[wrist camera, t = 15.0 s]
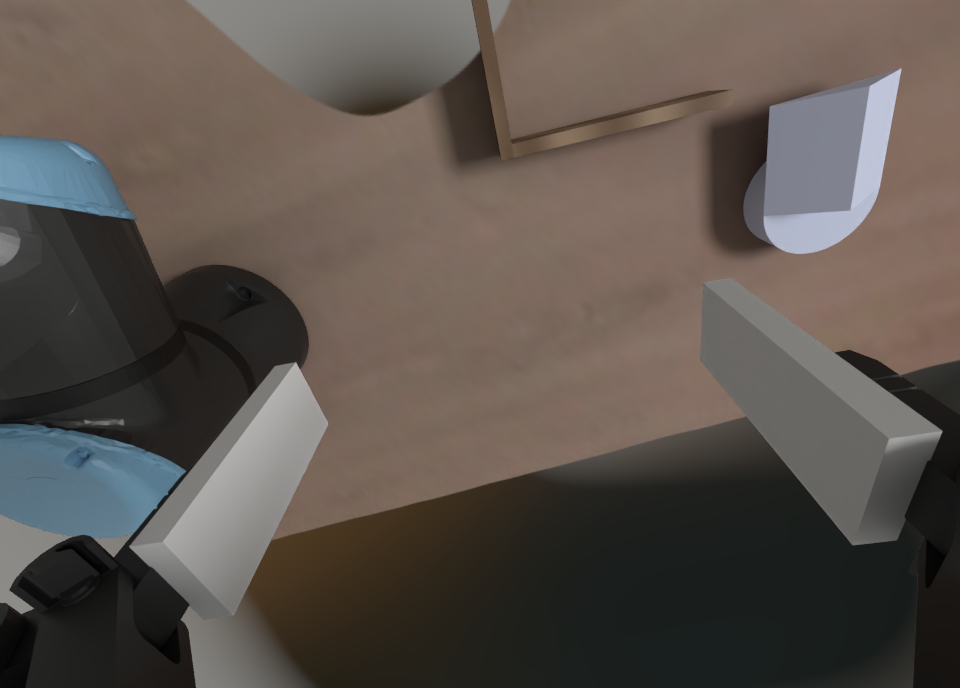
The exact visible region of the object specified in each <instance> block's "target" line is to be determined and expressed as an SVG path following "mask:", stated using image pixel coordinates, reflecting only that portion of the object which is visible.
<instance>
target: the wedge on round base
mask: <svg viewBox="0 0 960 688" xmlns="http://www.w3.org/2000/svg"><path fill="white" fill-rule="evenodd" d="M900 74H901V68H900V69H897V70H893V71H890V72H887V73H883V74H880V75H876V76H873V77H869V78H866V79H862V80H859V81H856V82H852V83H849V84H845V85H842V86H838V87H835V88H831V89H828V90H825V91H821V92H818V93H814V94H811V95H807V96H804V97H800V98H797V99H793V100H790V101H787V102H783V103H780V104H776V105H773V106H770V111H769V129H768V147H767V161H766V162H765V163H764V164H763V165H762V166H761V168H760V169H759V170H758V171H757V173H756V174H755V176H754V177H753V179H752V180H751V182H750V184H749V186H748V189H747V192H746V194H745V199H744V205H743V214H744V219H745V222H746V225H747V227H748V228H749V230H750V231H751V232H752V233H753V234H754V235H755V236H756V237H758V238H759V239H761V240H763V241H765V242H767V243H769V244H771V245H773V246H775V247H777V248H779V249H781V250H783V251H786V252H789V253H795V254H806V253H812V252H817V251H820V250H823V249H826V248H828V247H830V246H832V245H834V244H836V243H837V242H839V241H841V240H842V239H844V238H845V237H846V236H848V235H849V234H850V233H851V232H852V231H854V230H855V229H856V228H857V227H858V226H859V225H860V224H861V222H862V221H863V220H864V219H865V217H866V216H867V215H868V213H869V212H870V210H871V208H872V206H873V204H874V202H875V200H876V198H877V195H878V191H879V187H880V182H881V177H882V171H883V166H884V161H885V155H886V150H887V144H888V139H889V133H890V128H891V122H892V117H893V112H894V106H895V101H896V95H897V90H898V84H899V79H900Z"/></svg>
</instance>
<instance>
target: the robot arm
mask: <svg viewBox="0 0 960 688" xmlns="http://www.w3.org/2000/svg"><path fill="white" fill-rule="evenodd" d="M134 220H136V216H135V214H134V212H132V211H130V210H129V209H128V207H127V205H126V203H125V201H124V199H123V197H122V195H121V194H120V192H119V190H118V188H117V186H116V184H115V182H114V180H113V178H112V176H111V174H110V172H109V170H108V168H107V167H106V165H105V164H104V162H103V161H102V160H101V159H100V158H99V157H98V156H97V155H96V154H95V153H93V152H92V151H90V150H89V149H87V148H85V147H83V146H81V145H79V144H77V143H74V142H71V141H67V140H62V139H52V138H38V137H21V136H2V135H0V514H1V515H3V516H5V517H8V518H10V519H13V520H15V521H17V522H20V523H22V524H25V525H28V526H31V527H35V528H38V529H41V530H44V531H48V532H52V533H57V534H62V535H67V536H74V537H72V538H69V539H67V540H65V541H63V542H61V543H58V544H56V545H55V546H53V547H52V548H50V549H49V550H47V551H46V552H44V553H43V554H41V555H40V556H39V557H38V558H36V559H35V560H34V561H33V562H31V563H30V564H29V565H28V566H27V567H26V568H25V569H24V570H23V571H22V572H21V573H20V574H19V576H18V577H17V578H16V579H15V581H14V582H13V584H12V586H11V588H10V591H11V592H13V593H14V594H15V595H17V596H18V597H20V598H21V599H22V600H23V601H25V602H26V603H28V604H29V605H30V606H32V607H33V608H34V609H33V610H31V611H28V612H25V613H23V614H20V613H19V612H17V611H16V610H15V609H13V608H12V607H11V606H9V605H8V604H6V603H0V688H196V686H195V678H194V670H193V662H192V654H191V647H190V639H189V632H188V629H187V627H186V625H185V623H184V622H182V621H181V618H182V616H183V615H184V613H185V611H186V610H187V608H188V606H190V607H191V608H192V609H194V610H195V611H196V612H197V613H198V614H199V615H200V616H201V617H202V618H203V619H211V618H220V617H229V616H233V615H234V614H235V612H236V610H237V607H238V605H239V603H240V601H241V599H242V597H243V595H244V593H245V591H246V589H247V587H248V585H249V583H250V581H251V579H252V577H253V575H254V573H255V571H256V569H257V567H258V565H259V563H260V561H261V559H262V557H263V555H264V553H265V551H266V549H267V547H268V545H269V543H270V541H271V539H272V537H273V535H274V533H275V531H276V529H277V527H278V525H279V523H280V521H281V519H282V517H283V515H284V513H285V511H286V509H287V507H288V505H289V503H290V501H291V499H292V497H293V495H294V493H295V491H296V489H297V487H298V485H299V483H300V480H301V478H302V476H303V474H304V472H305V470H306V468H307V466H308V464H309V462H310V460H311V458H312V456H313V454H314V452H315V450H316V448H317V446H318V444H319V442H320V440H321V438H322V436H323V434H324V432H325V430H326V428H327V426H328V422H327V420H326V418H325V417H324V415H323V413H322V411H321V409H320V407H319V405H318V403H317V401H316V399H315V398H314V396H313V394H312V392H311V390H310V388H309V386H308V384H307V382H306V380H305V379H304V377H303V375H302V373H301V371H300V369H301V367H302V366H303V364H304V362H305V360H306V357H307V353H308V345H309V344H308V334H307V330H306V326H305V323H304V321H303V319H302V317H301V315H300V313H299V311H298V310H297V308H296V307H295V305H294V304H293V303H292V302H291V300H290V299H289V298H288V297H287V296H286V295H285V294H284V293H283V292H282V291H281V290H279V289H278V288H277V287H276V286H274V285H273V284H272V283H270V282H269V281H267V280H266V279H264V278H262V277H260V276H258V275H256V274H254V273H252V272H249V271H247V270H244V269H240V268H236V267H232V266H225V265H209V266H203V267H199V268H195V269H193V270H191V271H188V272H187V273H185V274H183V275H181V276H180V277H178V278H176V279H174V280H173V281H171V282H170V283H169V284H168V285H167V286H166V287H165V288H163V285H162V283H161V281H160V279H159V277H158V274H157V272H156V270H155V268H154V265H153V263H152V261H151V258H150V256H149V254H148V251H147V249H146V246H145V244H144V242H143V239H142V237H141V235H140V232H139V230H138V228H137V225H136V223H135V221H134ZM700 360H701V362H702V363H703V364H704V365H705V366H706V368H707V369H708V370H709V371H710V372H711V374H712V375H713V376H714V377H715V379H716V380H717V381H718V382H719V383H720V385H721V386H722V387H723V388H724V389H725V391H726V392H727V393H728V394H729V395H730V397H731V398H732V399H733V400H734V402H735V403H736V404H737V405H738V406H739V408H740V409H741V410H742V411H743V412H744V414H745V415H746V416H747V417H748V418H749V420H750V421H751V422H752V423H753V424H754V426H755V427H756V428H757V429H758V431H759V432H760V433H761V434H762V436H763V437H764V438H765V439H766V440H767V442H768V443H769V444H770V445H771V446H772V447H773V449H774V450H775V451H776V453H777V454H778V455H779V456H780V457H781V459H782V460H783V461H784V462H785V463H786V465H787V466H788V467H789V468H790V470H791V471H792V472H793V473H794V474H795V476H796V477H797V478H798V479H799V480H800V482H801V483H802V484H803V485H804V486H805V488H806V489H807V490H808V491H809V492H810V494H811V495H812V496H813V497H814V499H815V500H816V501H817V502H818V503H819V505H820V506H821V507H822V508H823V510H824V511H825V512H826V513H827V514H828V516H829V517H830V518H831V519H832V520H833V522H834V523H835V524H836V525H837V527H838V528H839V529H840V530H841V531H842V533H843V534H844V535H845V536H846V537H847V539H848V540H849V541H850V542H851V544H852V545H858V544H867V543H876V542H885V541H893V540H897V539H898V536H899V534H900V532H901V529H902V527H903V525H904V522H905V520H906V519H907V520H908V521H909V522H910V523H911V524H912V525H913V526H914V527H915V528H916V529H917V530H918V531H919V532H920V533H921V534H922V535H923V536H924V539H923V541H922V543H921V546H920V548H919V550H918V552H917V554H916V556H915V559H914V561H913V563H912V565H911V567H910V569H909V571H908V574H911V575H913V576H917V574H918V585H917V586H918V587H917V608H916V631H915V654H914V677H913V688H960V415H959V414H958V413H956V412H955V411H953V410H952V409H950V408H949V407H947V406H946V405H944V404H942V403H941V402H940V401H938V400H937V399H935V398H934V397H932V396H931V395H929V394H928V393H926V392H925V391H923V390H918V389H917V386H916V385H914V384H912V383H910V382H909V381H908V380H906V379H905V378H903V377H902V378H900V377H899V374H897V373H896V372H894V371H893V370H891V369H890V368H888V367H887V366H885V365H884V364H882V363H881V362H879V361H878V360H875V359H873V358H870V357H867V356H864V355H862V354H859V353H856V352H854V351H851V350H847V351H841V352H835V353H834V352H833V351H831V350H830V349H828V348H827V347H826V346H824V345H823V344H821V343H820V342H819V341H817V340H816V339H815V338H813V337H812V336H810V335H809V334H808V333H806V332H805V331H803V330H802V329H801V328H799V327H798V326H797V325H795V324H794V323H792V322H791V321H790V320H788V319H787V318H785V317H784V316H783V315H781V314H780V313H779V312H777V311H776V310H774V309H773V308H772V307H770V306H769V305H767V304H766V303H765V302H763V301H762V300H761V299H759V298H758V297H756V296H755V295H754V294H752V293H751V292H749V291H748V290H747V289H745V288H744V287H743V286H741V285H740V284H738V283H737V282H736V281H734V280H733V279H732V278H726V279H721V280H716V281H711V282H706V283H703V303H702V328H701V353H700ZM131 534H133V535H132V536H131V537H130V539H129V540H128V541H127V542H126V543H125V545H124V546H123V547H122V548H121V550H120V551H119V552H118V553H117V554H116V556H115V557H112V556H111V555H110V554H109V553H108V552H107V551H106V550H105V549H104V548H103V547H102V546H101V545H100V544H98V543H97V542H96V541H95V540H94V539H93V538H98V539H102V538H116V537H123V536H127V535H131Z"/></svg>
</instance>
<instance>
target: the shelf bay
mask: <svg viewBox="0 0 960 688" xmlns="http://www.w3.org/2000/svg"><path fill="white" fill-rule="evenodd" d="M472 5H473V10H474V16H475V21H476V27H477V32H478V38H479V43H480V48H481V54H482V59H483V65H484V70H485V75H486V81H487V86H488V91H489V97H490V102H491V108H492V113H493V118H494V124H495V129H496V134H497V140H498V145H499V151H500V156H501V160H502V161H503V160H507V159H511V158H515V157H520V156H524V155H528V154H532V153H536V152H540V151H544V150H548V149H553V148H557V147H561V146H565V145H569V144H573V143H577V142H581V141H585V140H590V139H594V138H598V137H602V136H606V135H610V134H614V133H618V132H623V131H627V130H631V129H635V128H639V127H643V126H647V125H651V124H655V123H660V122H664V121H668V120H672V119H676V118H680V117H684V116H688V115H693V114H697V113H701V112H705V111H709V110H713V109H717V108H721V107H725V106H730V105H732V96H733V90H716V91H706V92H702V93H698V94H694V95H690V96H686V97H682V98H678V99H674V100H670V101H666V102H662V103H658V104H654V105H649V106H645V107H641V108H637V109H633V110H629V111H625V112H621V113H617V114H613V115H609V116H605V117H601V118H597V119H593V120H589V121H585V122H581V123H577V124H573V125H569V126H565V127H561V128H557V129H553V130H549V131H545V132H541V133H537V134H533V135H529V136H525V137H521V138H517V139H513V140H511V137H510V132H509V126H508V120H507V114H506V108H505V102H504V97H503V91H502V85H501V79H500V73H499V67H498V62H497V56H496V50H495V44H494V38H493V32H492V27H491V22H490V15H489V10H488V4H487V0H472Z"/></svg>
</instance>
